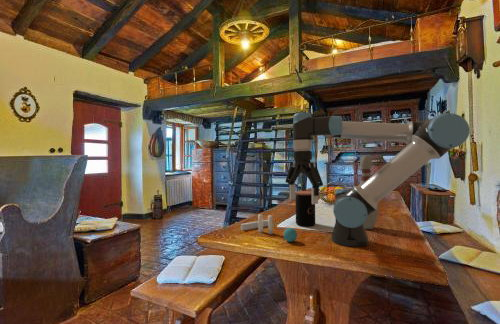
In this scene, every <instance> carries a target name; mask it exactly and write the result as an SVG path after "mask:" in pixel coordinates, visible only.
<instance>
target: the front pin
mask: <svg viewBox="0 0 500 324" xmlns="http://www.w3.org/2000/svg"><path fill="white" fill-rule="evenodd" d="M267 220H268V226H267V234H269V235H273V234H274V222H273V221H274V216H273V215H267Z"/></svg>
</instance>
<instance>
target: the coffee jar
mask: <svg viewBox="0 0 500 324" xmlns="http://www.w3.org/2000/svg"><path fill="white" fill-rule="evenodd" d="M295 195H296V199H295V224H296V225H297V226H299V227H305V228H307V227H310V226H311V227H314V226H315V225H316V204H312V191H311V190H309V191H308V190H298V191H297V190H296V191H295Z"/></svg>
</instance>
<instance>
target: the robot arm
mask: <svg viewBox="0 0 500 324" xmlns="http://www.w3.org/2000/svg"><path fill="white" fill-rule="evenodd" d="M292 119H293V120H292V121H293V123H292V130H293V131H292V134H293V135H292V137H293V138H292V139H293V141H292V142H293V143H292V147H293V152H292V153H293V160H294V161H291V162H289V169H288V172H287V175H286V179H285V183H287V185H288V191H289V200H290V201H291V200H292V201H293V200H296V183H295V182H296V181H297V179H298V177H299V175H300V174H305V175H306V177H307V178H308V180H309V182H310V184H311V186H312V187H311V190H310V191H312V204H315V205H318V204H319V195H320V187H323V186H324V182H323V180H322V176H321V175H320V172H319V169H318V163H317V162H314V161H312V162H311V160H313V152H312V149H313V148H312V147H313V144H312V137H316V136H317V137H318V136H323V137H324V138H327V139H333V138H334V139H346V140H347V139H349V140H365V141H377V142H378V141H381V142H393V143H405V144H406V146H405V147H404V148H403V149H402V150H401V151H399V152H398V153H397V154H396V155H395V156H393V157H392V158H391V159H390V160H389V161H388V162H386V163H385V164H384V165H383V166H382V167H381V168H379V169H378V170H377V171H376V172H375V173H374V174H373V175H372V174H371V175H370V176H371V177H370V178H369V179H368V180H367V181H365V182H364V183H363V184H362V185H361V186H359V185H353V186H352V187H351V188H349V189H348V188H337V189H336V190H335V194H334V197H335V201H334V205H333V209H332V210H333V211H332V212H333V215H334V217H335V218H334V219H335V223H334V227H333V229H332V233H331V241H332V242H333V243H335V244H338V245H340V246H344V247H345V246H346V247H364V246H367V245H368V244H369V236H368V234H367V231H366V230H367V229H365V227H364V222H365V221H366V219H367V217H368V216H369V215H370V214H371V213H373V212H374V211H375V210H376V209H377V203H378V204H379V202H380V201H382V200H383V199H384V198H386V197H387V196H388V195H389V194H390V193H392V192H393V191H394V190H395V189H397V188H398V186H400V185H402V183H404V182H405V181H406V180H408V179H409V178H410V177H411V176H413V174H415V173H416V172H417V171H418V170H420V169H421V168H422V167H423V166H425V164H427V163H428V162H430V161H431V160H435V159H437V160H439V159H441V158H442V157H443V156H444V155H445V154H447V153H448V152H449V151H451V149H455V148H458V147H460V146H461V145H462V144H465V142H466V141H467V139H468V138H469V135H470V125H469V122H468V121H467V120H466V119H465V118H464V117H463V116H461V115H459V114H457V113H451V112H446V113H445V112H444V113H440V114H438V115H435V116H434V117H432V118H430V119H427V120H421V121H420V120H419V121H409V122H407V123H395V122H370V121H345V120H343V116H341V115H329V116H328V115H327V116H318V117H315V116H312V113H311V112H305V111H304V112H302V111H301V112H297V113H295V114H293V118H292Z"/></svg>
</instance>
